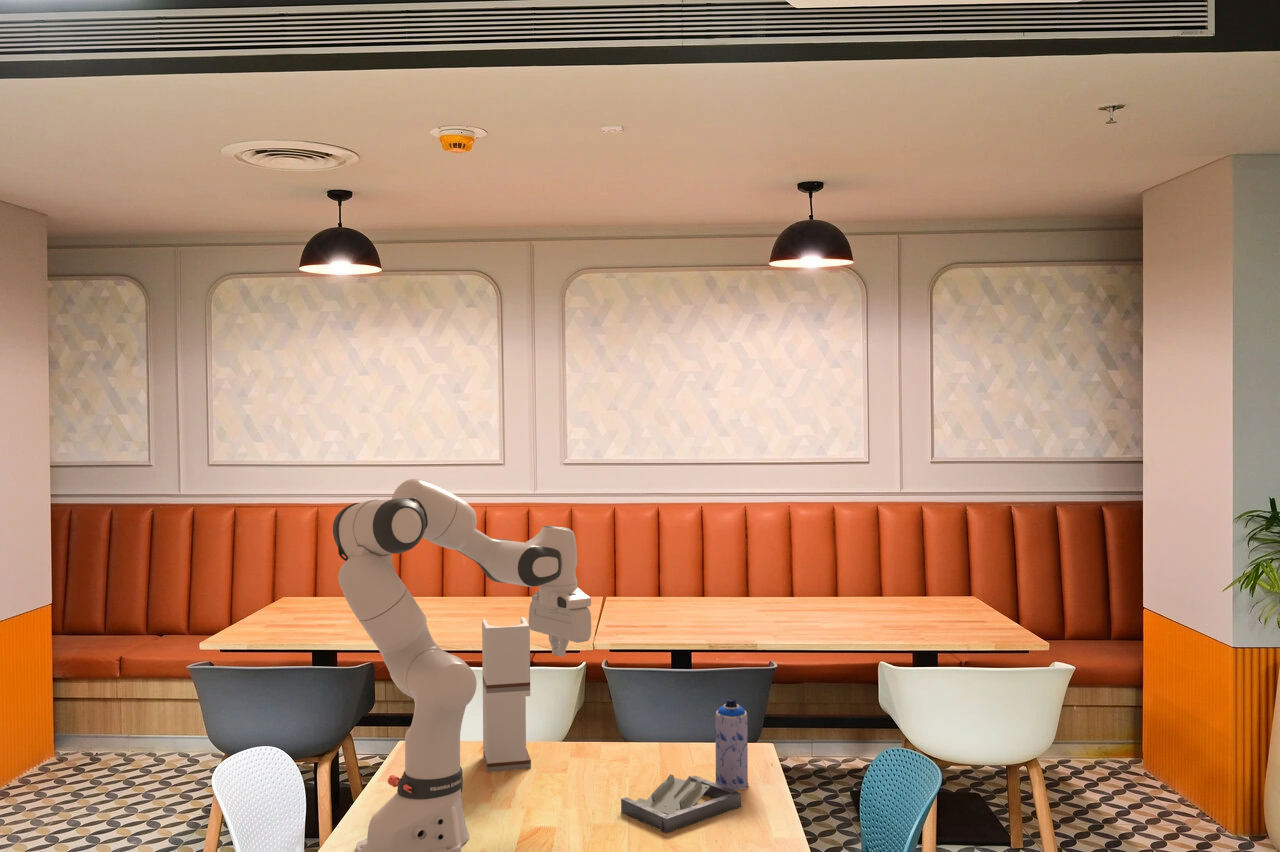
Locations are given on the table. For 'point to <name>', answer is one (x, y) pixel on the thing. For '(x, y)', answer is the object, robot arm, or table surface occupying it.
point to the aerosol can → (731, 746)
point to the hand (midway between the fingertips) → (558, 655)
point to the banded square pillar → (505, 695)
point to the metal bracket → (675, 795)
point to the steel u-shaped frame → (720, 804)
